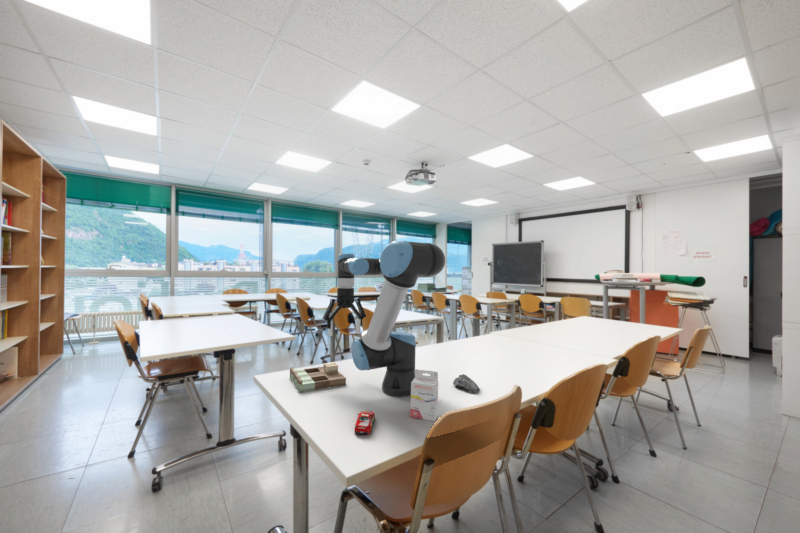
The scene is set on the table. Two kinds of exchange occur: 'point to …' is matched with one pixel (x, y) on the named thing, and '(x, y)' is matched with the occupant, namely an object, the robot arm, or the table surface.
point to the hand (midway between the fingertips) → (344, 334)
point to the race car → (364, 422)
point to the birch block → (330, 368)
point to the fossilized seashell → (466, 383)
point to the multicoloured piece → (315, 379)
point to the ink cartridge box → (424, 395)
